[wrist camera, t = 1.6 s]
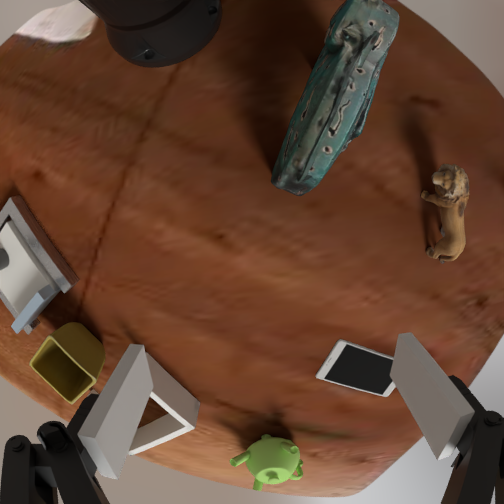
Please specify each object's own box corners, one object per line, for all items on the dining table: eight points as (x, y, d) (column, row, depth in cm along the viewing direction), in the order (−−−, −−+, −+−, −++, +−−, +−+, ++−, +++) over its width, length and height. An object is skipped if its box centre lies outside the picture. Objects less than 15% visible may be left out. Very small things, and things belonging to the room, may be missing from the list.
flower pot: (120, 347, 43) (97, 381, 35) (93, 373, 45) (70, 405, 36) (79, 306, 42) (48, 334, 33) (55, 336, 43) (27, 364, 34)
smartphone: (387, 397, 46) (314, 377, 44) (386, 395, 47) (313, 375, 45) (412, 363, 44) (339, 338, 43) (410, 361, 45) (338, 336, 43)
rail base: (-17, 253, 39) (-26, 257, 37) (20, 195, 37) (10, 197, 35) (35, 328, 43) (28, 334, 40) (79, 280, 41) (71, 285, 38)
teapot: (309, 454, 50) (315, 488, 42) (252, 468, 51) (252, 501, 42) (293, 420, 47) (298, 456, 39) (229, 435, 48) (227, 471, 40)
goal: (90, 390, 46) (77, 411, 40) (146, 351, 43) (134, 375, 38) (138, 433, 48) (130, 455, 42) (200, 402, 46) (195, 428, 40)
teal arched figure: (316, 41, 33) (365, -45, 13) (362, 63, 33) (440, -3, 14) (257, 178, 37) (265, 187, 18) (306, 199, 38) (362, 230, 19)
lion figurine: (405, 168, 37) (441, 170, 28) (435, 158, 36) (474, 158, 28) (427, 268, 40) (461, 290, 32) (454, 255, 40) (490, 274, 31)
